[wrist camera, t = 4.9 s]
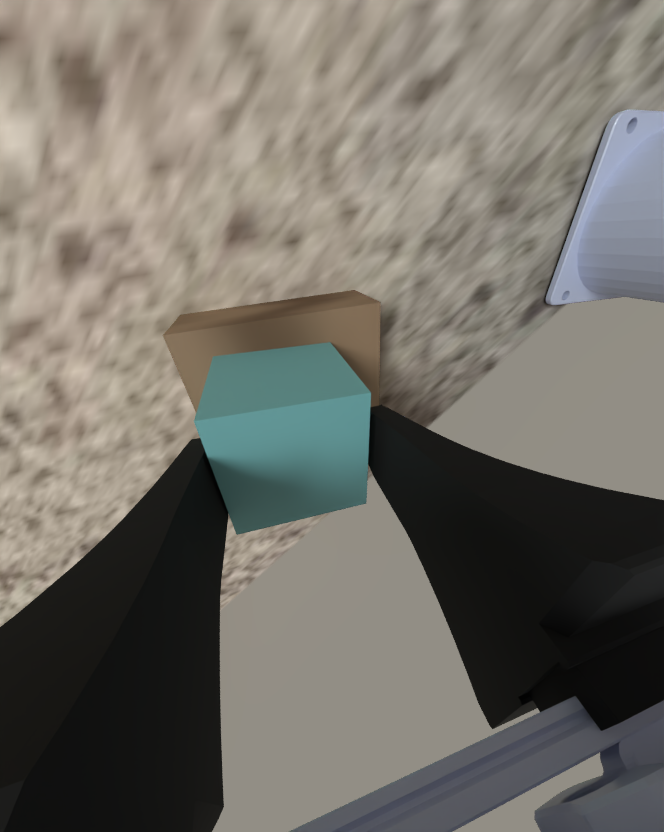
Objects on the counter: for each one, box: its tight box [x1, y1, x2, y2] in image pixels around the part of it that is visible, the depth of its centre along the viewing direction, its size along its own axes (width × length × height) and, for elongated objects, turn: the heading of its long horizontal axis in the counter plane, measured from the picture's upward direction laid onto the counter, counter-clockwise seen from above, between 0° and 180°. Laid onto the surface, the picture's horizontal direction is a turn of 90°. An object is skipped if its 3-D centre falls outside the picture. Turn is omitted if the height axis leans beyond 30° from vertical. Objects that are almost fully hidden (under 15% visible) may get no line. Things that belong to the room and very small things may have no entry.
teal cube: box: [194, 342, 371, 535], centre depth 10 cm, size 4×4×4 cm
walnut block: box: [163, 290, 380, 413], centre depth 14 cm, size 8×8×4 cm
